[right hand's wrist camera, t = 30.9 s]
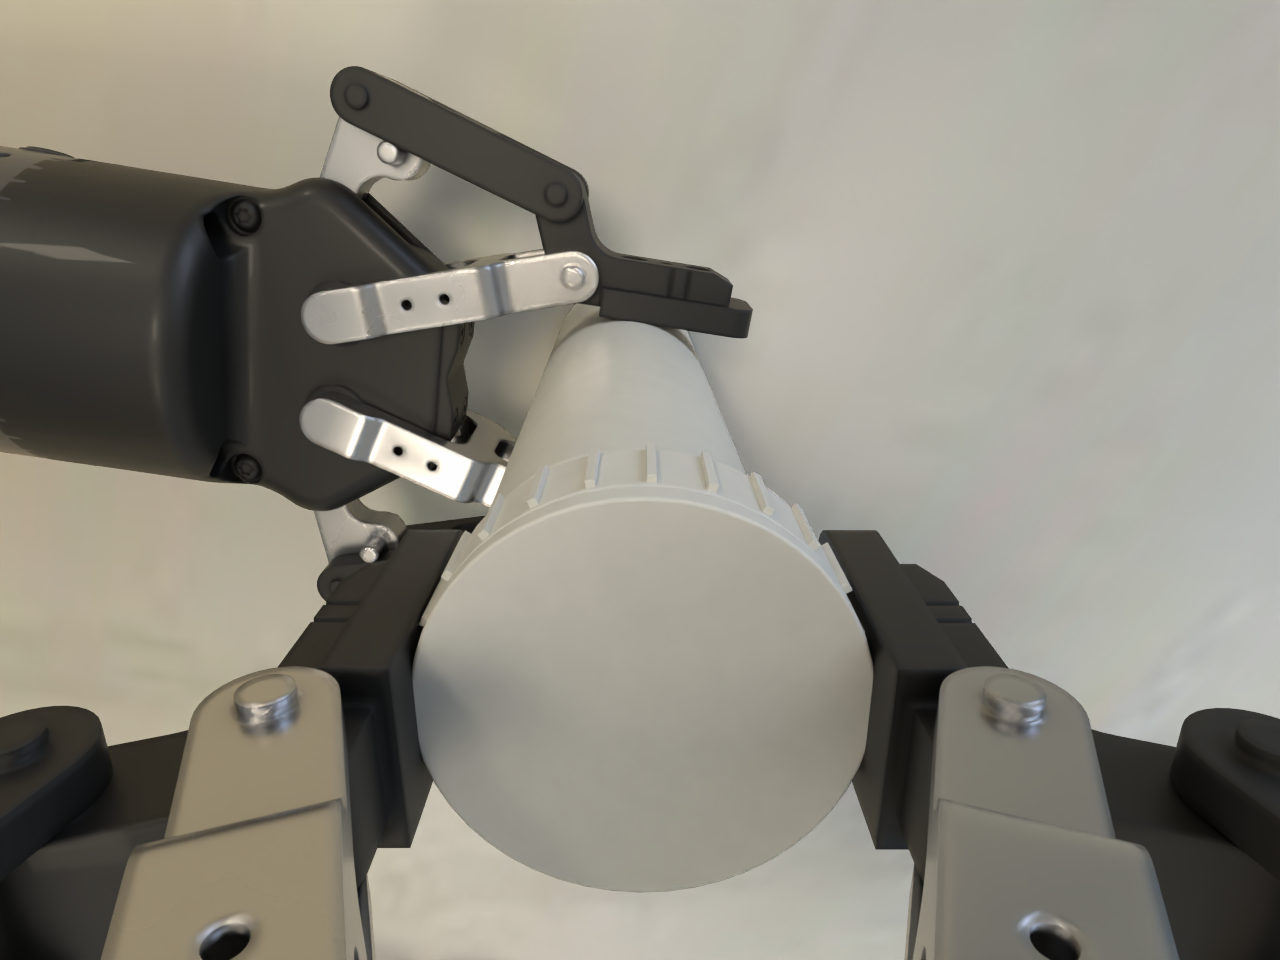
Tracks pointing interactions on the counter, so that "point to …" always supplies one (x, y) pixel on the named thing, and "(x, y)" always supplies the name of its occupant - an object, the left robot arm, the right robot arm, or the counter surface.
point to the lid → (642, 673)
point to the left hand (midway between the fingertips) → (724, 411)
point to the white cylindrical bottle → (618, 398)
